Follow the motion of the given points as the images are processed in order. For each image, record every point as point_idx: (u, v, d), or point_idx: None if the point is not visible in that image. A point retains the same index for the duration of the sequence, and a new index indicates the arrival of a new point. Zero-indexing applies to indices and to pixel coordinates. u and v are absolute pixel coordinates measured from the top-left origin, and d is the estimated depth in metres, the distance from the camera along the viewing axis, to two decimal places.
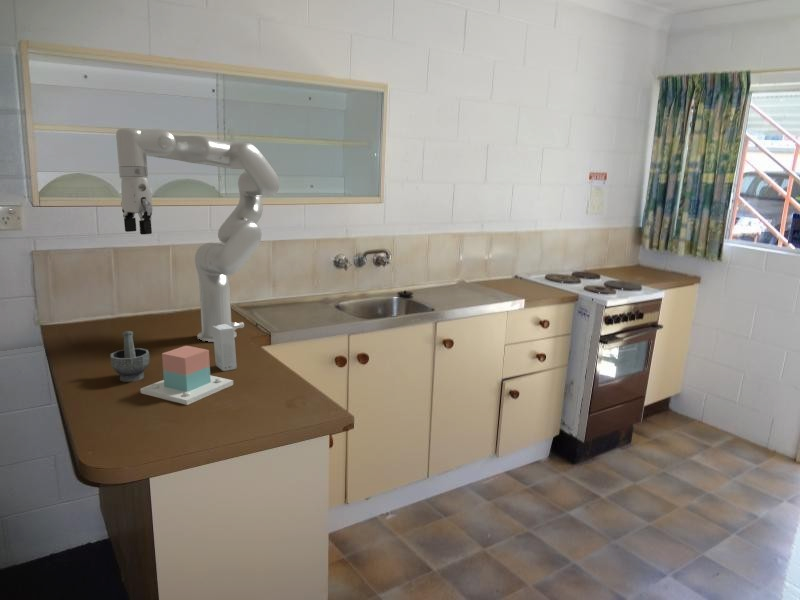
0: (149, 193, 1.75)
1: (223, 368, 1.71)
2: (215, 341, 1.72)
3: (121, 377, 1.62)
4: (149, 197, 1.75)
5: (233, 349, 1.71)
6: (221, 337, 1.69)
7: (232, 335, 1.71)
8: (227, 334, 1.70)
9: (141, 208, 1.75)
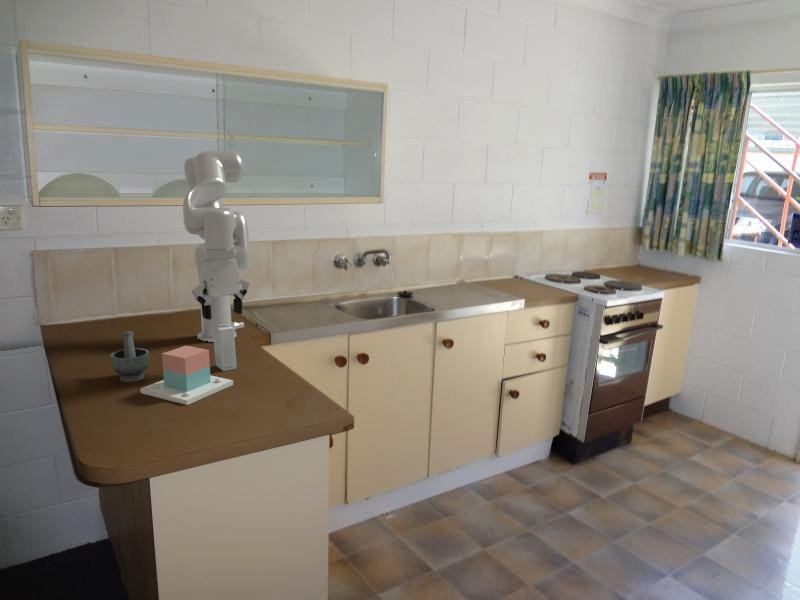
0: None
1: (223, 368, 1.71)
2: (215, 341, 1.72)
3: (121, 377, 1.62)
4: None
5: (233, 349, 1.71)
6: (221, 337, 1.69)
7: (232, 335, 1.71)
8: (227, 334, 1.70)
9: None
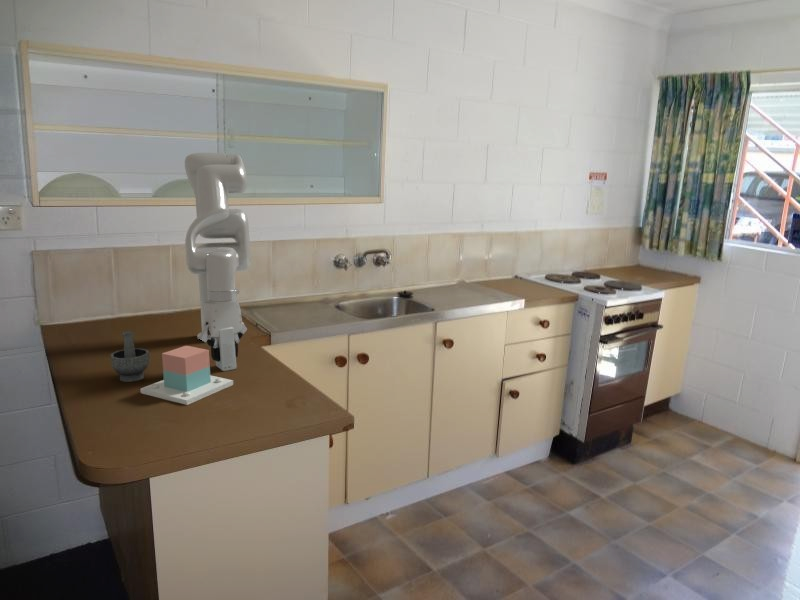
0: None
1: (223, 368, 1.71)
2: None
3: (121, 377, 1.62)
4: None
5: (233, 349, 1.71)
6: (221, 337, 1.69)
7: (232, 335, 1.71)
8: (227, 334, 1.70)
9: None
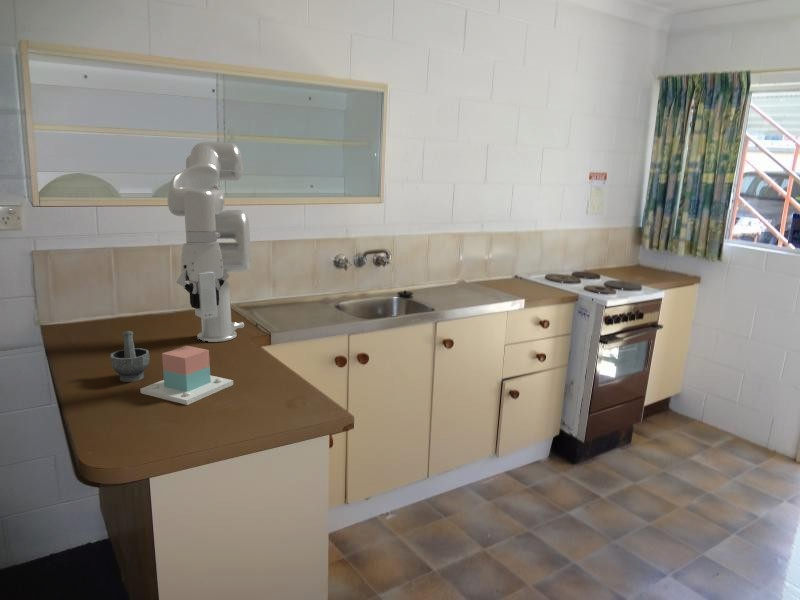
0: None
1: (203, 316, 1.59)
2: None
3: (121, 377, 1.62)
4: None
5: (214, 295, 1.60)
6: (201, 282, 1.57)
7: (213, 280, 1.59)
8: (207, 279, 1.58)
9: None
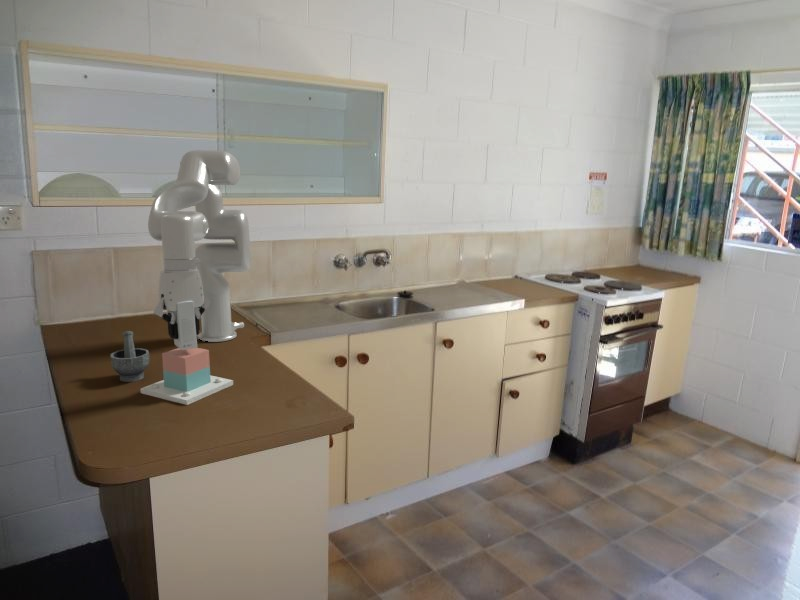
0: None
1: (181, 346, 1.51)
2: None
3: (121, 377, 1.62)
4: None
5: (193, 325, 1.52)
6: (179, 311, 1.50)
7: (192, 309, 1.51)
8: (186, 308, 1.50)
9: None
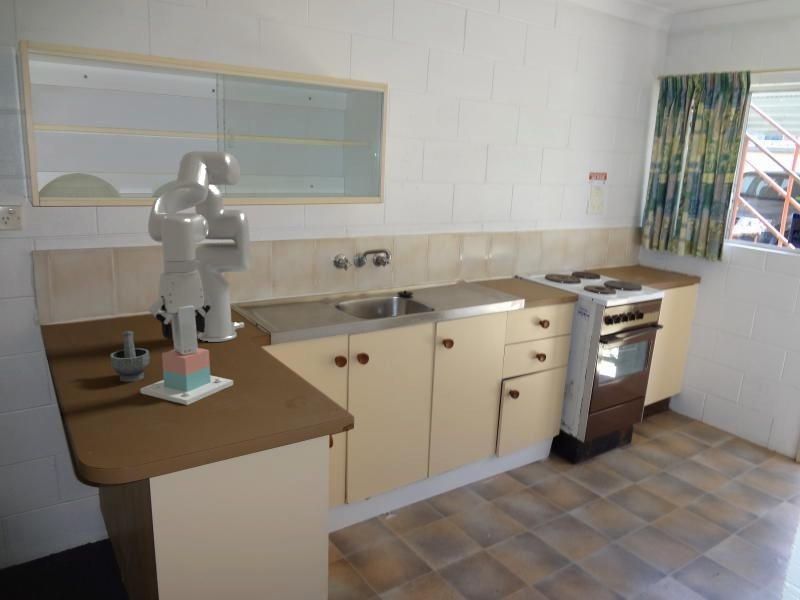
0: None
1: (182, 352, 1.52)
2: (173, 322, 1.53)
3: (121, 377, 1.62)
4: None
5: (194, 330, 1.53)
6: (180, 317, 1.50)
7: (193, 314, 1.52)
8: (187, 313, 1.51)
9: None
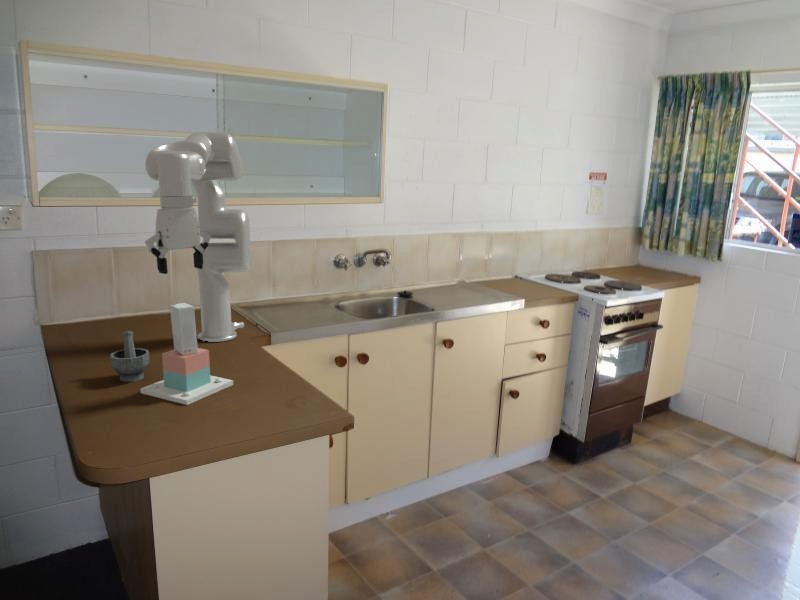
0: None
1: (182, 352, 1.52)
2: (173, 322, 1.53)
3: (121, 377, 1.62)
4: None
5: (194, 330, 1.53)
6: (180, 317, 1.50)
7: (192, 315, 1.52)
8: (186, 313, 1.51)
9: None
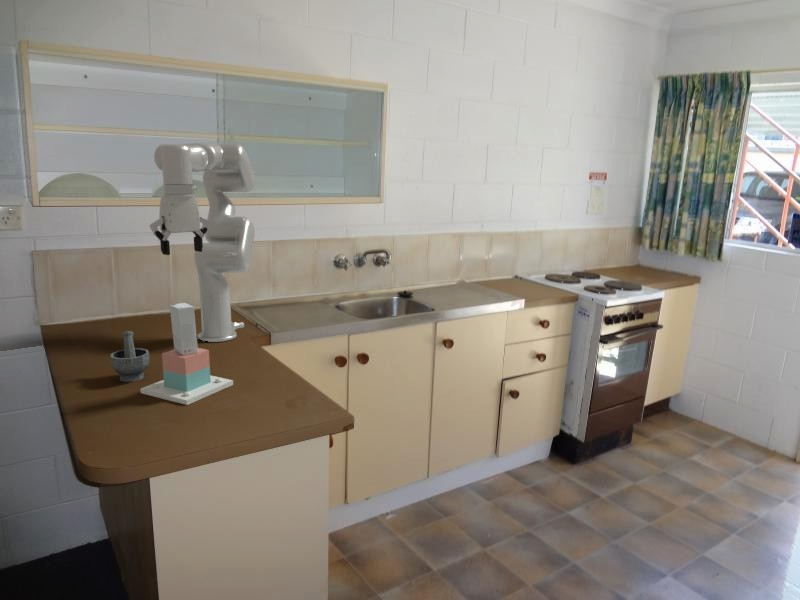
0: None
1: (182, 352, 1.52)
2: (173, 322, 1.53)
3: (121, 377, 1.62)
4: None
5: (194, 330, 1.53)
6: (180, 317, 1.50)
7: (192, 315, 1.52)
8: (186, 313, 1.51)
9: None
